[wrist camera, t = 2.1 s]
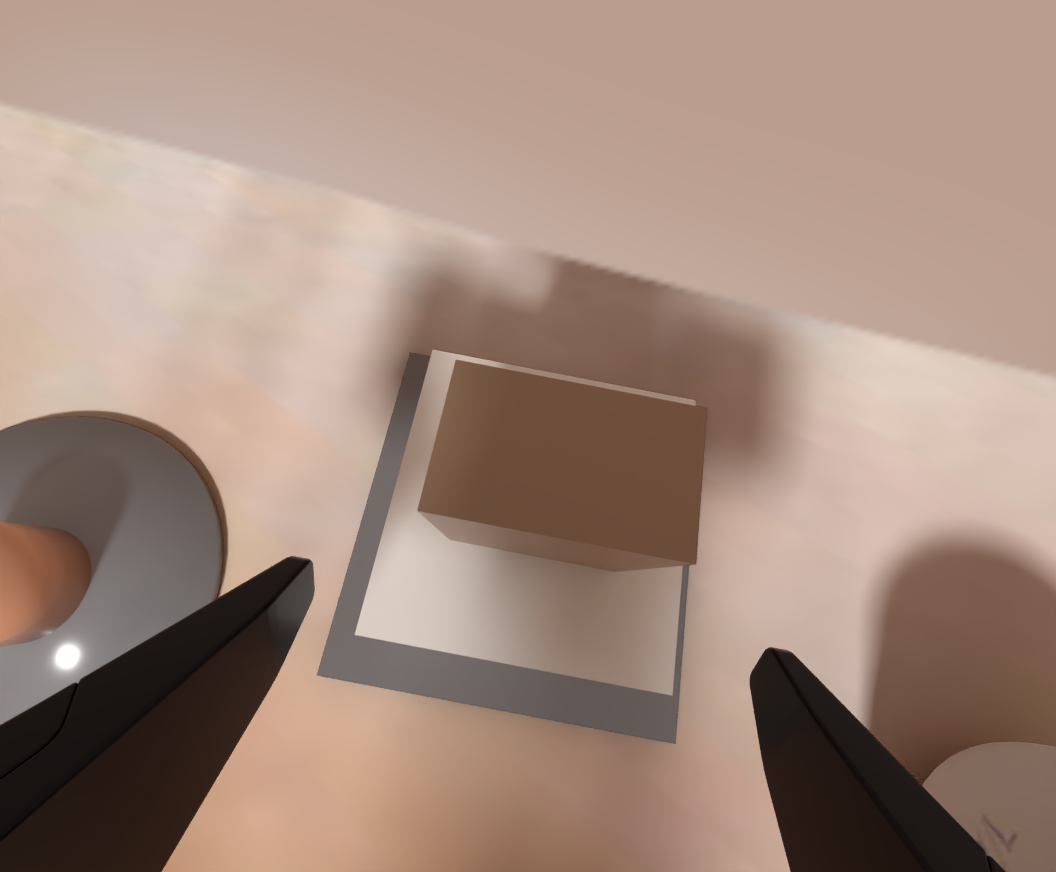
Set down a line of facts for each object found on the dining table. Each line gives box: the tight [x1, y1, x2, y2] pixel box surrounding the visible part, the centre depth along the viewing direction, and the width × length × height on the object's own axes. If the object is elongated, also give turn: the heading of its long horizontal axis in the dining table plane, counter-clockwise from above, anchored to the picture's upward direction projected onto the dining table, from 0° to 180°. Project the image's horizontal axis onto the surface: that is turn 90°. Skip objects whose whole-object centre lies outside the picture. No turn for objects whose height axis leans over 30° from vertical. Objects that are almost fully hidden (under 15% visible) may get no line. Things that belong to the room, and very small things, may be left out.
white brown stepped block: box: [355, 350, 707, 696], centre depth 14 cm, size 9×9×12 cm
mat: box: [317, 353, 689, 744], centre depth 20 cm, size 14×14×1 cm
